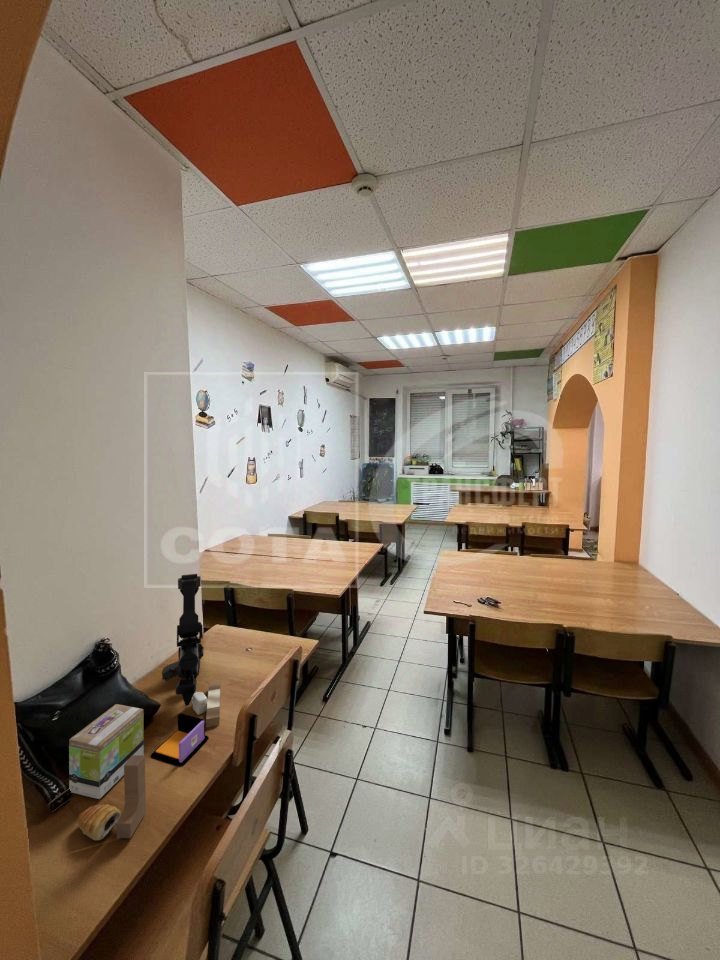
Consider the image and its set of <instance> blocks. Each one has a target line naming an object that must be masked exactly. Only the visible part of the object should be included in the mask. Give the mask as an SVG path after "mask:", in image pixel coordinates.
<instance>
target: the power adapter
mask: <svg viewBox="0 0 720 960" xmlns="http://www.w3.org/2000/svg"><path fill="white" fill-rule="evenodd" d="M207 701H208V696H206V694H205V693H204V692H203V691H197V690H196V691H195V693H194V695H193V697H192V699H191V702H190V703H192V709H193V711H194V712H195V714H196V715H198V716H200V715H202V714H204V713H207Z"/></svg>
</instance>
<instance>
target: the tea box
mask: <svg viewBox="0 0 720 960" xmlns="http://www.w3.org/2000/svg"><path fill="white" fill-rule="evenodd" d="M144 713H145V712H144V709H143V708H139V707H134V706H129V705H124V704H118V703H116V704H114V705H113V706H111V707H110V708H109V709H107V710H106V711H105V712H104V713H102V714H101V715H100V716H98V717H97V718H95V719H94V720H93V721H92V722H90V723H88V725H86V726H85V727H84V728H83V729H81V730H80V731H79V732H77V733H76V734H75V735H73V736H71V738H69V740H68V741H69V742H68V752H69V753H68V760H69V761H68V764H69V765H68V770H69V772H68V777H69V778H68V781H69V782H68V785H69V787H68V790H69V789H70V791H71V792H70V793H73V794H77V795H81V796H84V797H88V798H93V799H97V800H101V798H102V797H103V796H104V795H105V794H107V792H108V791H109V790H111V788H112V787H113V786H114V785H115V784H117V783H118V781H119V780H120V779H122V777H124V765H125V764H126V762H127V761H128V760H129V758H130V757H131V756H132V755H144V748H145V747H144V742H145V741H144V738H145V737H144ZM144 756H145V755H144Z"/></svg>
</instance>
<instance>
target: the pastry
mask: <svg viewBox="0 0 720 960" xmlns="http://www.w3.org/2000/svg"><path fill="white" fill-rule="evenodd" d="M121 815H122V811H121V809H119V808H117V807H116V806H115V805H111V804H109V803H106V804H95V805H91V806H89V807H88V808H86V809H84V811H83V812H80V813H79V814H78V818H77V822H76V824H77V825H78V827H79V829H80V830H81V831H82V834H83V835H86V837H88V838H90V839H92V840H93V841H101V840H102V839H104V838H105V837H106V836H107V835H108V834H109V832H110V831H112V828H113V827H115V825H116V823H117V822H118V820H119V819H120V817H121Z"/></svg>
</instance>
